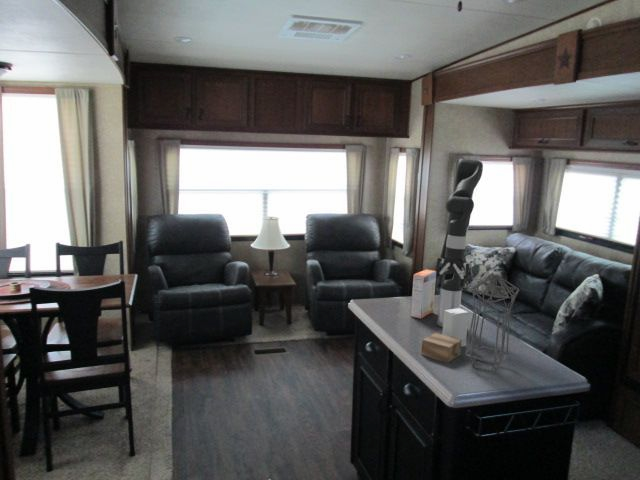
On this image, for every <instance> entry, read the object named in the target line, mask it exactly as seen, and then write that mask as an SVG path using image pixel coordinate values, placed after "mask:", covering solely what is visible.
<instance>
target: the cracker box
mask: <svg viewBox="0 0 640 480" xmlns="http://www.w3.org/2000/svg"><path fill="white" fill-rule="evenodd" d="M412 277H413V278H412V290H411V291H412V292H411V293H412V294H411V306H410V317H412V318H415V319H421V320H422V319H423V318H426V317H427V316H428V315H431V314H433V312H434V304H435V294H436V293H435V292H436V291H435V290H436V279H437V272H436V270H431V269H427V268H426V269H424V270H421V271H418V272H416V273H414V274H413V275H412Z"/></svg>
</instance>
